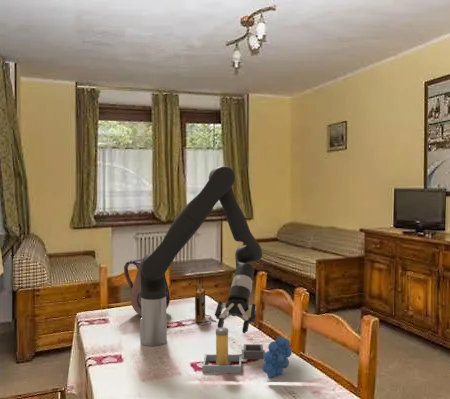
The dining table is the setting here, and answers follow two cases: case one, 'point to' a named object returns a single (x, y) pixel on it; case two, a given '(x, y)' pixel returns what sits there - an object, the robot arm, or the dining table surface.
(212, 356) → the tray
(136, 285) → the ceramic pitcher
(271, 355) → the grapes
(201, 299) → the multimeter
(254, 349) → the socket block
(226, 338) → the cylinder
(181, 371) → the dining table surface
